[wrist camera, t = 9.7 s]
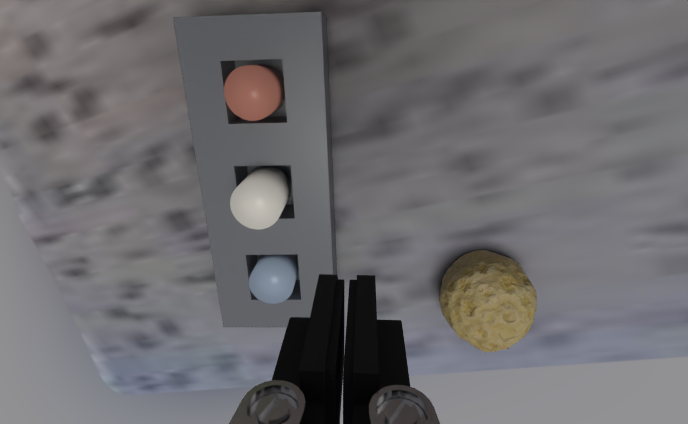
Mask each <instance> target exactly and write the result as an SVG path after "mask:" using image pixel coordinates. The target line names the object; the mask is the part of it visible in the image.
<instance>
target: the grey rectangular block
mask: <svg viewBox="0 0 688 424" xmlns="http://www.w3.org/2000/svg"><path fill="white" fill-rule="evenodd" d="M173 20H174V26H175V32H176V39H177V45H178V51H179V57H180V63H181V69H182V75H183V82H184V88H185V94H186V100H187V106H188V112H189V118H190V125H191V131H192V137H193V143H194V149H195V155H196V162H197V168H198V174H199V180H200V186H201V192H202V198H203V205H204V211H205V217H206V223H207V229H208V235H209V241H210V248H211V254H212V260H213V266H214V272H215V278H216V284H217V291H218V297H219V303H220V309H221V315H222V321H223V327H287V326H288V322H289V319H290V318H291V317H309V318H310V315H311V310H312V306H313V301H314V296H315V291H316V286H317V282H318V277H319V274H332V275H337V263H336V239H335V214H334V190H333V166H332V142H331V118H330V93H329V69H328V45H327V21H326V17H325V15H324V14H323V13H322V12H299V13H273V14H247V15H220V16H194V17H173ZM260 64H265V65H270V66H272V67H274V68H276V69H277V70H278V71H280V72H281V74H282V75H283V76H284V88H285V103H284V104H283V106H282V107H281V108H280V109H278V110H277V111H275V112H273V113H272V114H270V115H269V116H267V117H265V118H263V119H261V120H257V121H249V120H245V119H242V118H240V117H238V116H237V115H236V114H234V113H233V112H232V111H231V109H230V108H229V106H228V105H227V102H226V100H225V96H224V86H225V82H226V79H227V77H228V76H229V74H230V73H231V72H232V71H233V70H235V69H236V68H238V67H241V66H246V65H260ZM262 166H272V167H275V168H278V169H279V170H281V171H282V172H283V173H284V174H285V175H286V176H287V177H288V179H289V181H290V184H291V194H290V197H289V199H288V201H287V203H286V205H285V207H284V209H283V211H282V213H281V215H280V217H279V218H278V220H277V221H276V223H274V224H273V225H272V226H270V227H268V228H265V229H260V230H257V229H251V228H248V227H245V226H244V225H242V224H241V223H239V222H238V221H237V220H236V218H235V217H234V215H233V213H232V211H231V207H230V199H231V195H232V193H233V191H234V190H235V189H236V188H237V186H238V185H239V184H240V183H241V182H242V181H243V180H244V179H245V178H246V177H247V176H248V175H249V174H250V173H251V172H252V171H253V170H255V169H256V168H258V167H262ZM291 254H298V266H299V271H298V275H297V278H296V281H295V285H294V288H293V291H292V294H291V295H290V297H289V298H288V299H286V300H285V301H283V302H281V303H276V304H270V303H265V302H263V301H261V300H259V299H257V298H256V297H255V296H254V295H253V293H252V292H251V290H250V287H249V278H250V275H251V273H252V271H253V269H254V267H255V265H256V263H257V261H258V260H259V258H260V256H261V255H291Z"/></svg>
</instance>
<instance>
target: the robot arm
mask: <svg viewBox="0 0 688 424" xmlns="http://www.w3.org/2000/svg"><path fill="white" fill-rule="evenodd" d="M343 367H344V373H343ZM342 381H343V424H440V423H439V420H438V417H437V414H436V412H435V409H434V407H433V405H432V403H431V401H430V400H429V399H428V398H427V397H426V396H425V395H424V394H423V393H422V392H420V391H418V390H416V389H415V388H412V387H410V382H409V374H408V366H407V359H406V351H405V344H404V336H403V329H402V322H401V320H377V312H376V287H375V276H369V275H357V280H350V284H349V298H348V313H347V327H346V341H345V356H344V280H339V279H338V277H337V275H332V274H319V277H318V282H317V286H316V291H315V296H314V301H313V306H312V310H311V315H310V318H309V317H291V318H290V319H289V322H288V326H287V329H286V333H285V336H284V340H283V343H282V347H281V350H280V354H279V357H278V361H277V364H276V368H275V371H274V375H273V378H272V381H267V382H264V383H261V384H259V385H257V386H255V387H254V388H252V389H251V390H250V391H249V392H248V393H247V394H246V395H245V396H244V398H243V399H242V401H241V403H240V405H239V407H238V408H237V410H236V412H235V414H234V416H233V417H232V419H231V421H230V423H229V424H340V410H341V395H342Z"/></svg>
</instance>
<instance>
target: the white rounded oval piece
mask: <svg viewBox="0 0 688 424" xmlns="http://www.w3.org/2000/svg"><path fill="white" fill-rule="evenodd" d="M290 194H291V184H290V181H289V179H288V177H287V176H286V175H285V174H284V173H283V172H282V171H281V170H279V169H278V168H275V167H272V166H262V167H258V168H256V169H255V170H253V171H252V172H251V173H250V174H249V175H248V176H247V177H246V178H245V179H244V180H243V181H242V182H241V183H240V184H239V185H238V186H237V188H236V189H235V190H234V191H233V193H232V195H231V199H230V207H231V211H232V213H233V215H234V217H235V218H236V220H237V221H238V222H239V223H241V224H242V225H244V226H245V227H248V228H251V229H257V230H260V229H265V228H268V227H270V226H272V225H273V224H274V223H276V221H277V220H278V218H279V217H280V215H281V213H282V211H283V209H284V207H285V205H286V203H287V201H288V199H289V197H290Z"/></svg>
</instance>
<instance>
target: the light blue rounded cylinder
mask: <svg viewBox="0 0 688 424" xmlns="http://www.w3.org/2000/svg"><path fill="white" fill-rule="evenodd" d="M298 271H299V266H298V254H291V255H261V256H260V258H259V260H258V261H257V263H256V265H255V267H254V269H253V271H252V273H251V275H250V278H249V287H250V290H251V292H252V293H253V295H254V296H255V297H256V298H257V299H259V300H261V301H263V302H265V303H270V304H276V303H281V302H283V301H285V300H286V299H288V298H289V297H290V295H291V294H292V291H293V288H294V285H295V281H296V278H297V275H298Z"/></svg>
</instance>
